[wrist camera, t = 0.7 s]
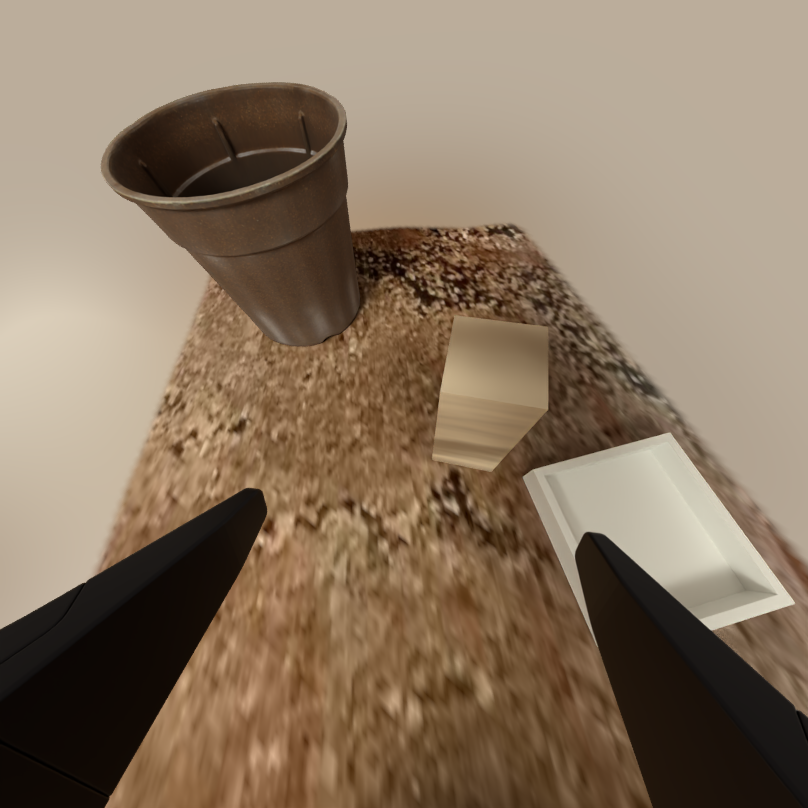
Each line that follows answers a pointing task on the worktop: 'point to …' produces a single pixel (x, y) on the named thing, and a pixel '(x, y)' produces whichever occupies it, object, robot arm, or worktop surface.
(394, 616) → the worktop surface
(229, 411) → the worktop surface
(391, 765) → the worktop surface
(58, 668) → the robot arm
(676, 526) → the tray
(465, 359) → the beech block
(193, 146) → the plant pot
